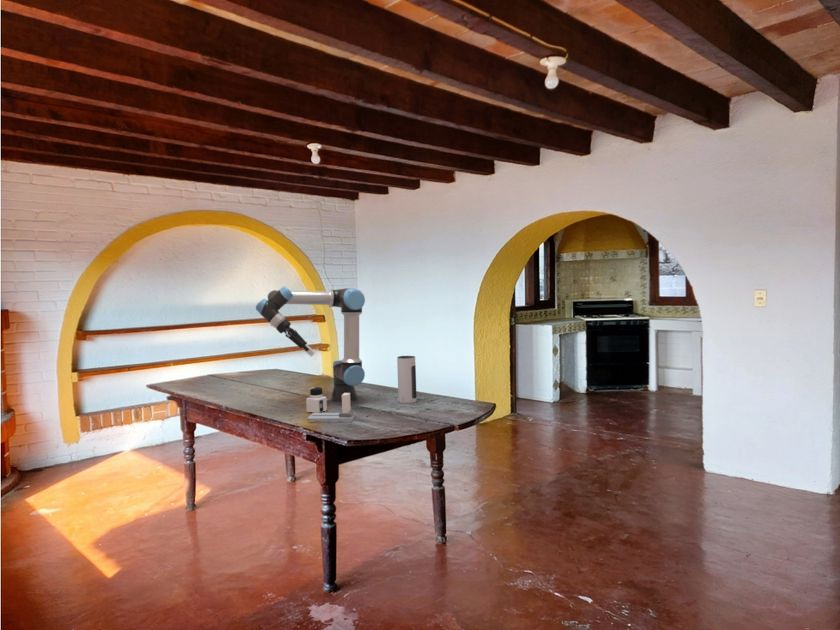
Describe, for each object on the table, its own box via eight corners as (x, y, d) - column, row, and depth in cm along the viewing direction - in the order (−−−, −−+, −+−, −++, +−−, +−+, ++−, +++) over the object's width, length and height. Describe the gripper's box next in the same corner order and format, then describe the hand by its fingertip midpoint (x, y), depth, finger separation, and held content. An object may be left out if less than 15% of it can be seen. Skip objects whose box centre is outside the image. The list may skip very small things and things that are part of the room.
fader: (342, 413, 299) (341, 392, 298) (354, 412, 299) (353, 392, 298) (338, 416, 291) (338, 395, 290) (350, 416, 291) (350, 395, 290)
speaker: (409, 404, 325) (408, 357, 324) (394, 402, 331) (393, 356, 329) (420, 401, 334) (419, 355, 332) (405, 399, 340) (404, 354, 338)
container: (327, 411, 315) (326, 386, 314) (317, 414, 308) (316, 389, 307) (316, 409, 319) (315, 385, 318) (306, 412, 312) (305, 388, 311)
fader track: (313, 416, 302) (313, 412, 302) (355, 416, 301) (355, 412, 301) (306, 422, 291) (306, 418, 290) (350, 422, 289) (350, 418, 289)
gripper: (279, 327, 316) (311, 358, 315) (271, 329, 303) (304, 361, 302) (289, 317, 315) (321, 348, 315) (281, 319, 302) (314, 351, 302)
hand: (313, 354), depth 309 cm, fingers closed
